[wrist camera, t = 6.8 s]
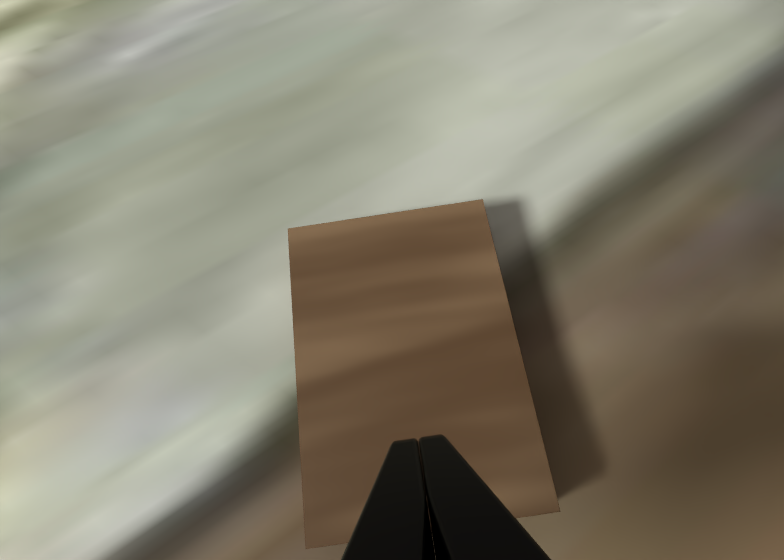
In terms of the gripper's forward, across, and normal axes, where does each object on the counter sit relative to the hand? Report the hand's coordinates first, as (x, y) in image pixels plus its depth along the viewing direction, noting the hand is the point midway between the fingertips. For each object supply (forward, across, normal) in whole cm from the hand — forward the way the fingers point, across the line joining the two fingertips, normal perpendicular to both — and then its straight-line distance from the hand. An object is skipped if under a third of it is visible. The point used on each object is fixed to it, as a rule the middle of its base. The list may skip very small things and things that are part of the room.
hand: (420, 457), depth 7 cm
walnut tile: (+4, 0, +6) cm, 7 cm away
